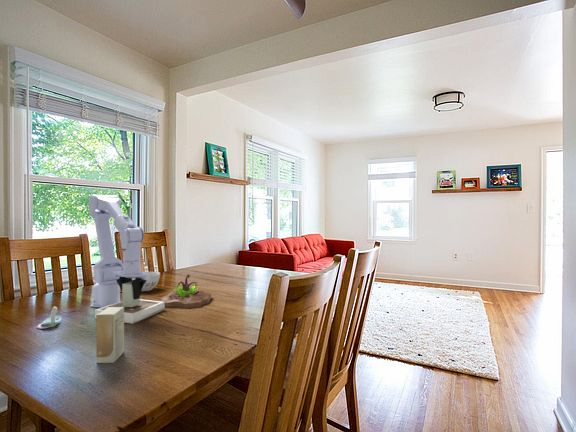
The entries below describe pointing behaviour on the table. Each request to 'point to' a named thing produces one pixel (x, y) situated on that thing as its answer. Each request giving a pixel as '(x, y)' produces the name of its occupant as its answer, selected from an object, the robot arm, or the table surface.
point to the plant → (186, 296)
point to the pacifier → (51, 320)
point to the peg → (128, 296)
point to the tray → (140, 314)
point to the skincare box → (109, 334)
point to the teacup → (150, 281)
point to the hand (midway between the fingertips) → (131, 298)
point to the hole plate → (136, 307)
